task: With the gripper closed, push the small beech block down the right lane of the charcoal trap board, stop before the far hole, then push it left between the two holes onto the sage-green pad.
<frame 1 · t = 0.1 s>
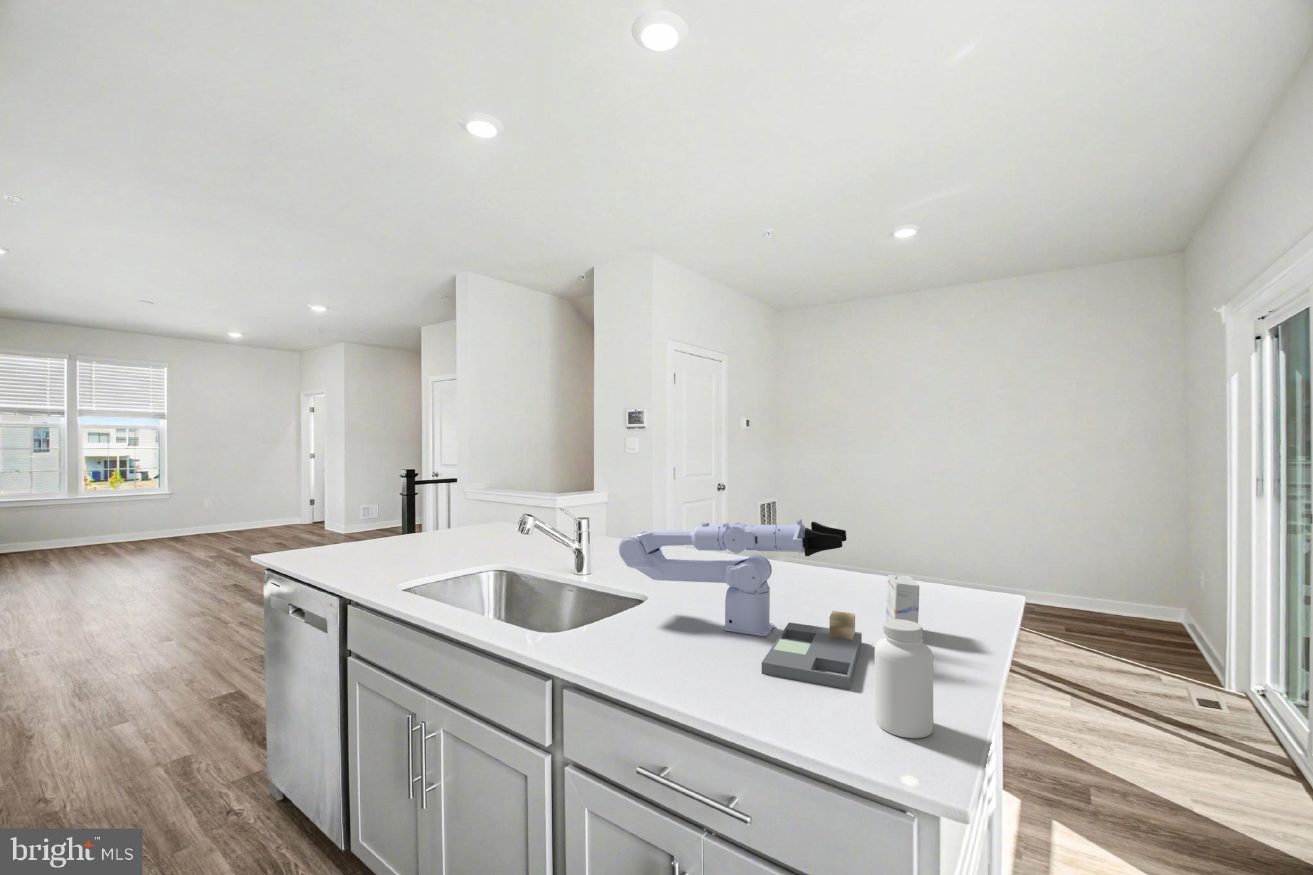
hand: (844, 538, 116), 22 cm above the worktop, tool horizontal, fingers open, 7 cm apart
ink box: (902, 633, 122), on the worktop
pill bottle: (903, 727, 83), on the worktop
block: (842, 634, 115), point 2 cm above the worktop, touching trap board
trap board: (815, 656, 109), on the worktop
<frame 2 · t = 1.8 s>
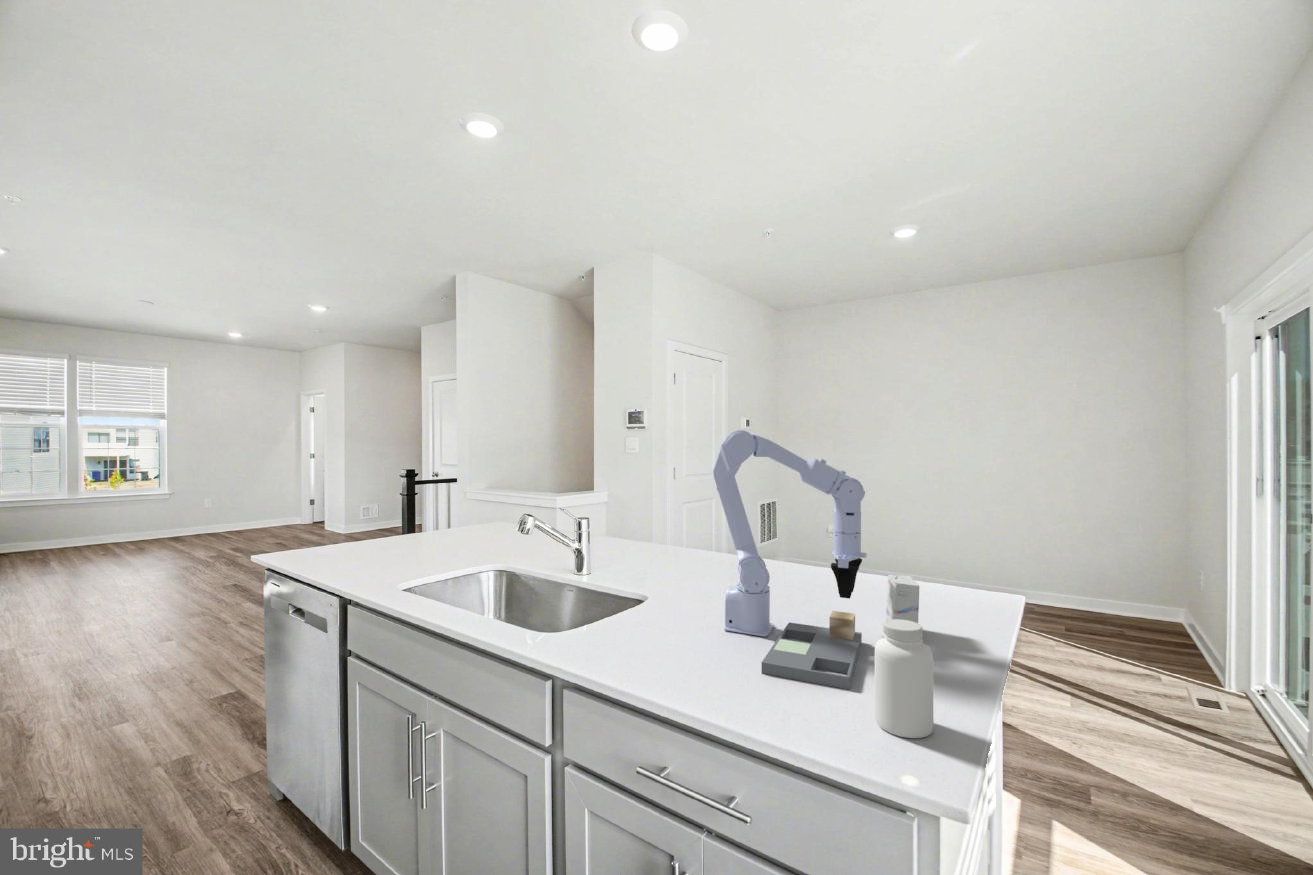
hand: (846, 594, 122), 8 cm above the worktop, tool pointing down, fingers open, 5 cm apart
nothing on the worktop moved.
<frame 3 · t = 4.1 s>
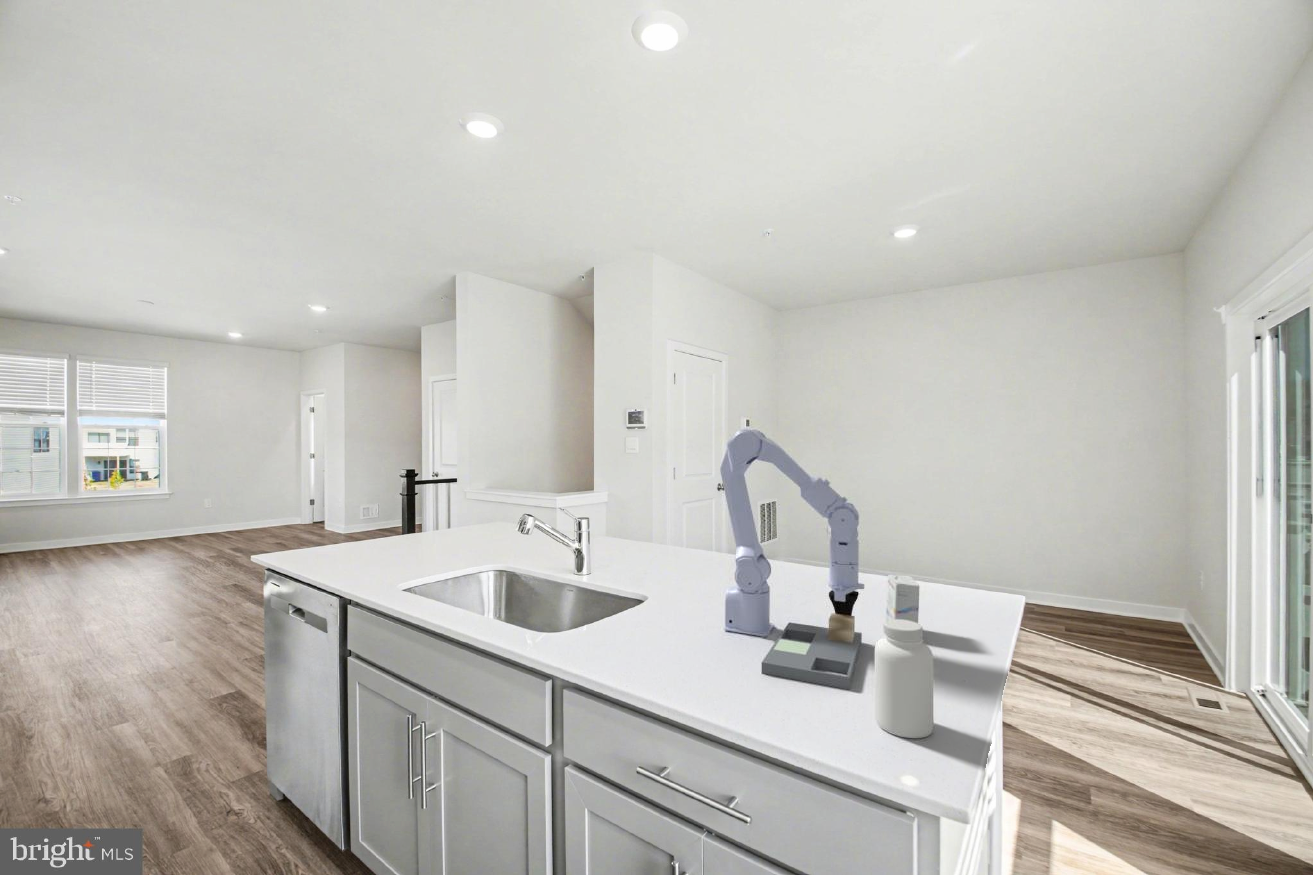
hand: (843, 626, 117), 3 cm above the worktop, tool pointing down, fingers closed
block: (841, 637, 113), point 2 cm above the worktop, touching gripper
everything else where it was.
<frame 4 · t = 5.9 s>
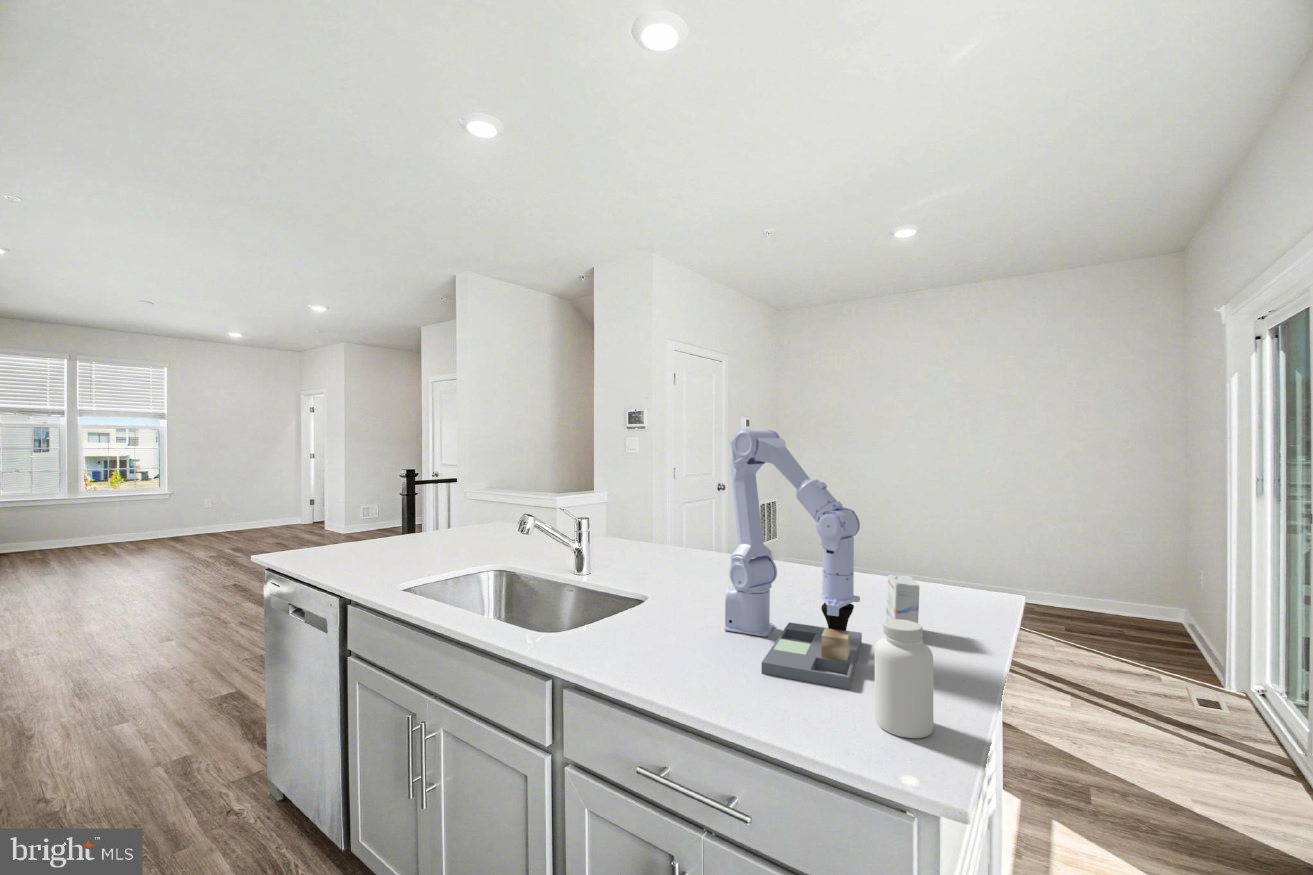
hand: (837, 642, 108), 3 cm above the worktop, tool pointing down, fingers closed
block: (835, 654, 104), point 2 cm above the worktop, touching gripper, trap board
everything else where it was.
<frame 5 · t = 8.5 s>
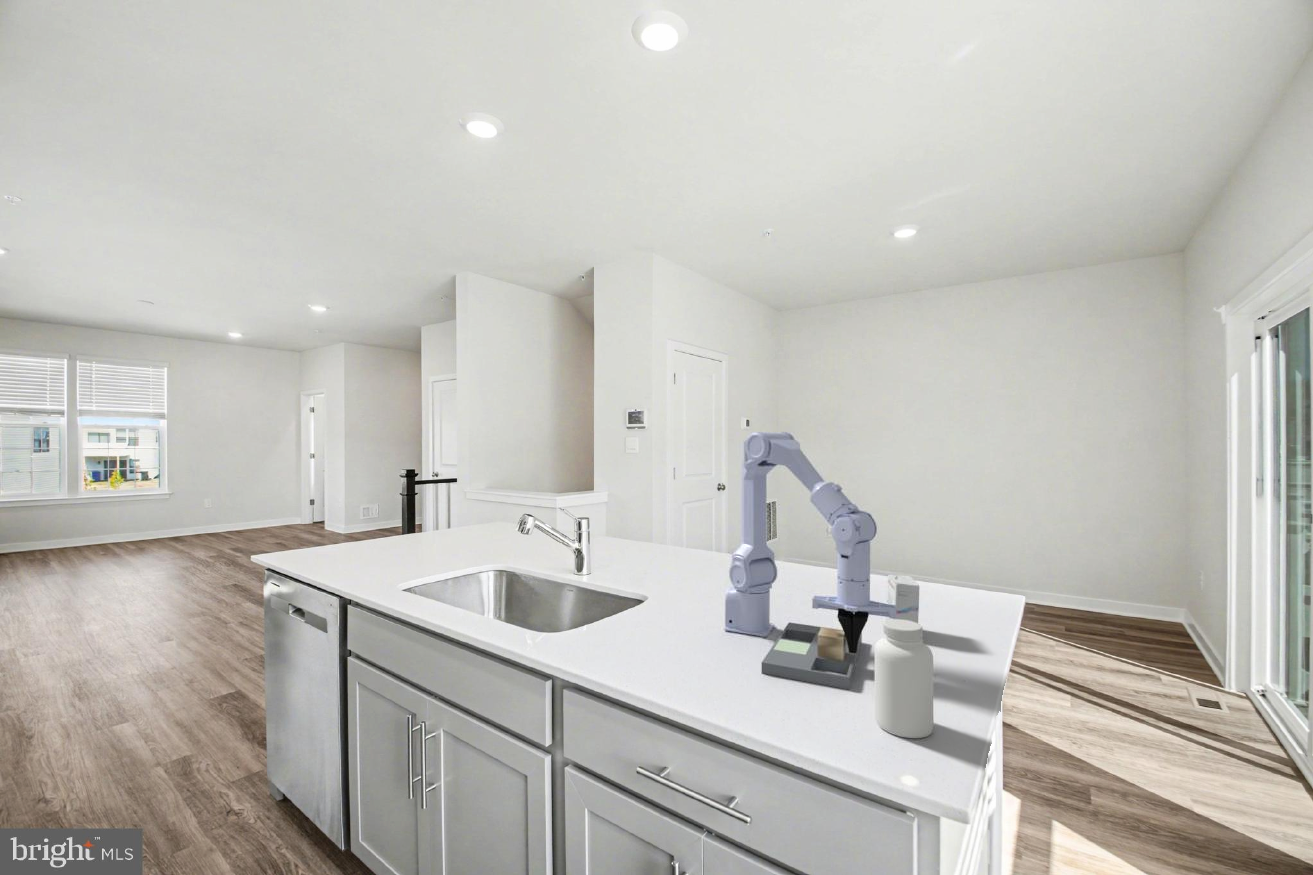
hand: (853, 651, 104), 3 cm above the worktop, tool pointing down, fingers closed
block: (831, 654, 105), point 2 cm above the worktop, touching gripper
everything else where it was.
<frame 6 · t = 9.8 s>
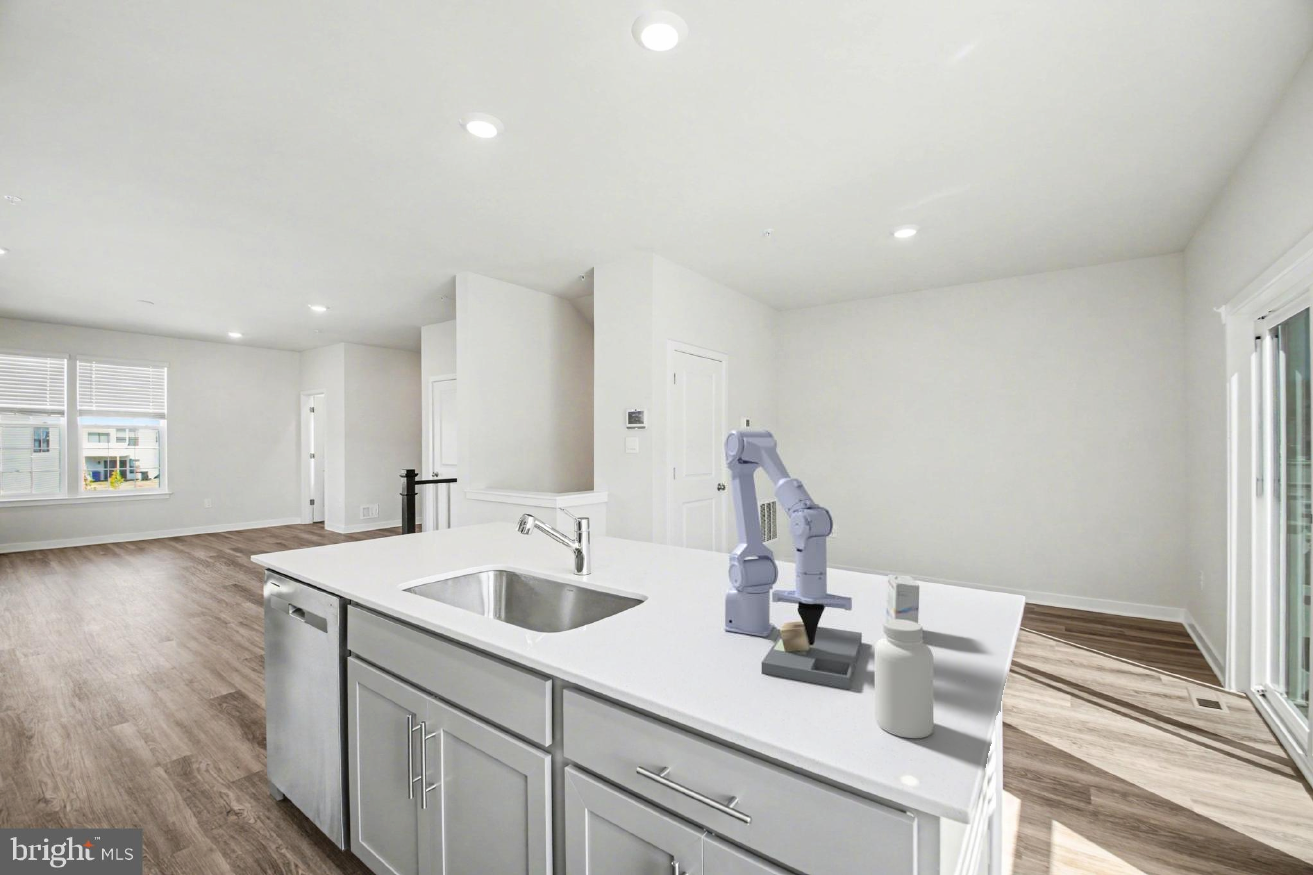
hand: (811, 643, 106), 3 cm above the worktop, tool pointing down, fingers closed, pressing on block
block: (798, 646, 107), point 3 cm above the worktop, tilted 14°, touching gripper, trap board
everything else where it was.
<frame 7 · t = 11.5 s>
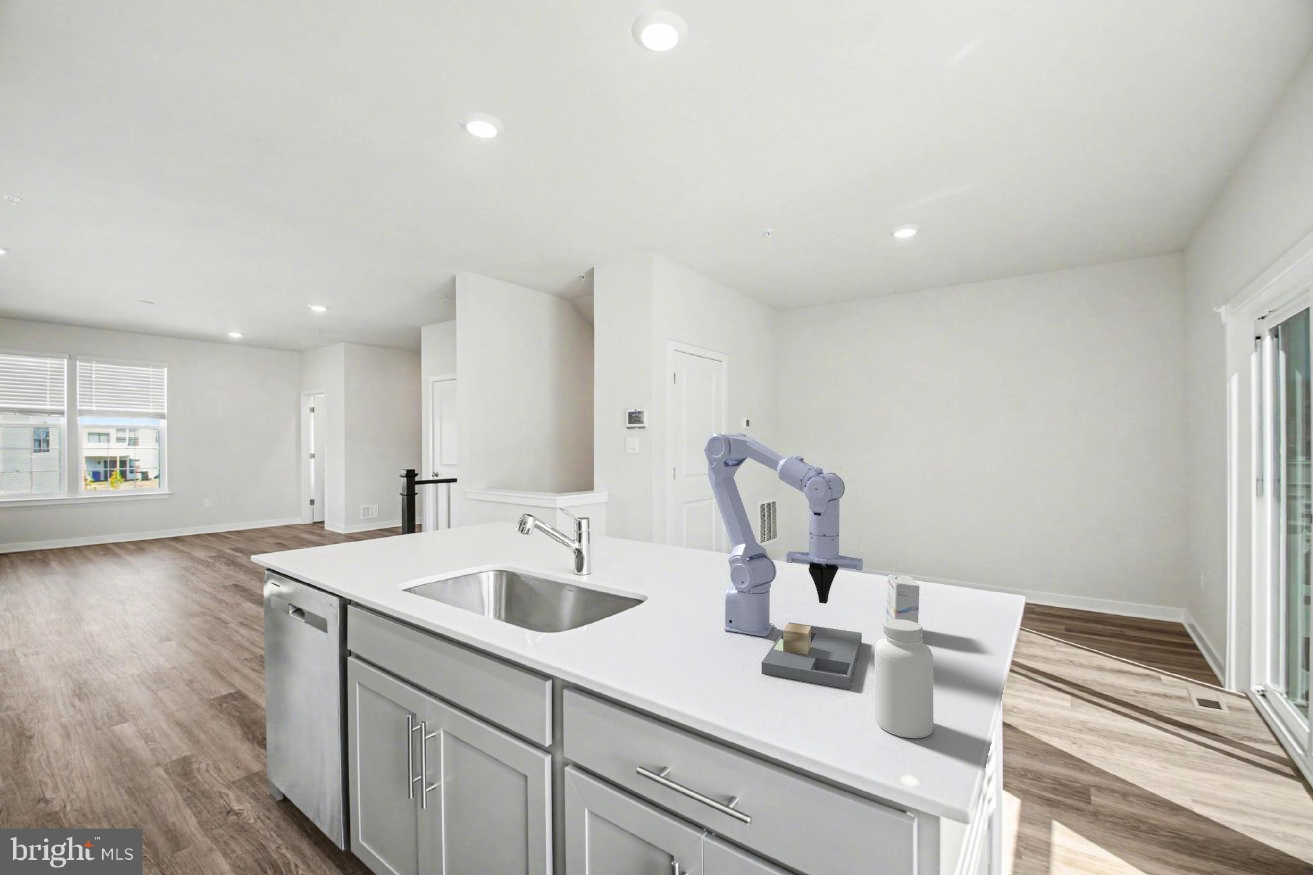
hand: (823, 601, 112), 10 cm above the worktop, tool pointing down, fingers closed
block: (797, 648, 107), point 2 cm above the worktop, touching trap board
everything else where it was.
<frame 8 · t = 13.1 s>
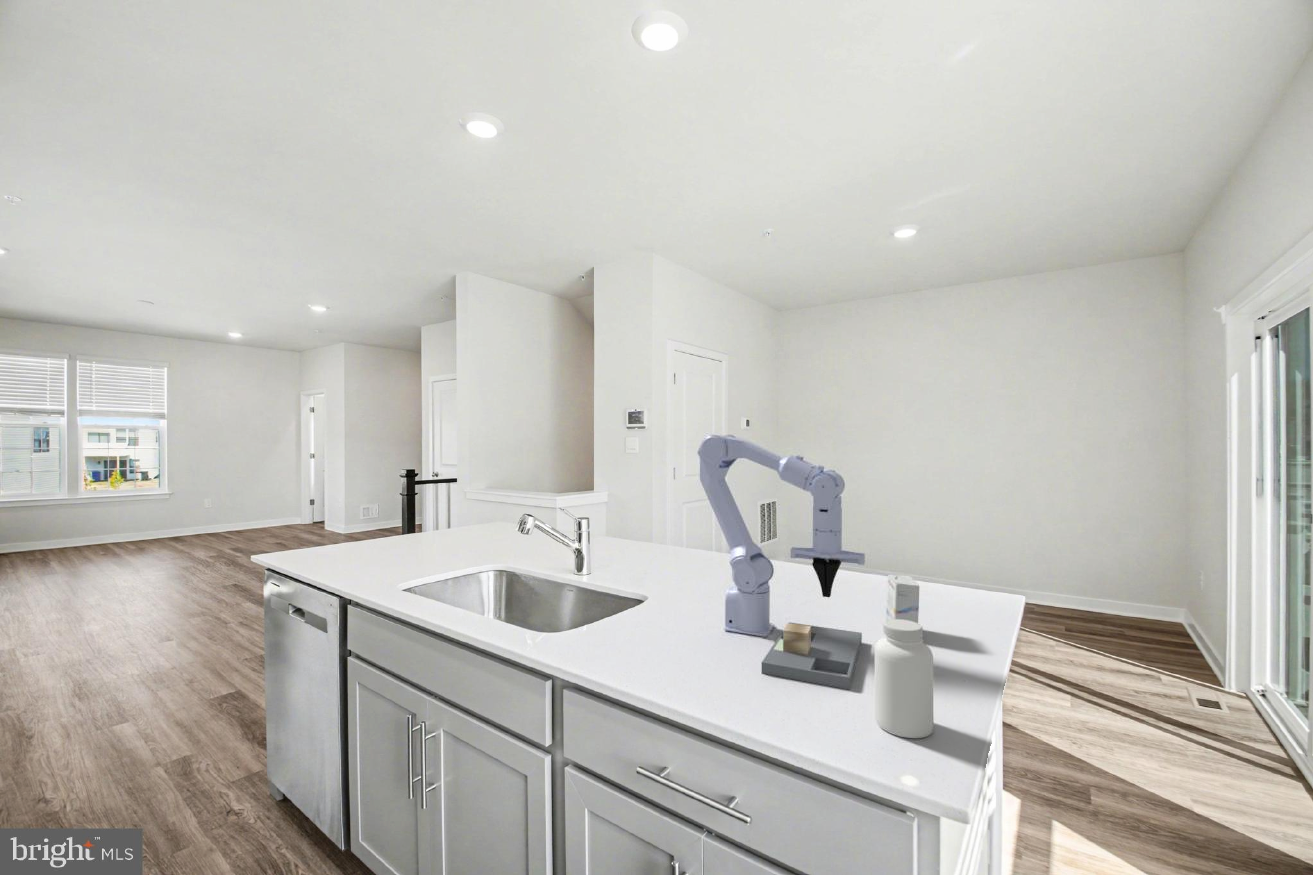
hand: (826, 595, 115), 10 cm above the worktop, tool pointing down, fingers closed
nothing on the worktop moved.
at the end: block inside the target area (1.2 cm from its centre), point 2.0 cm above the worktop; block tilted 0°; block touching trap board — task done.
